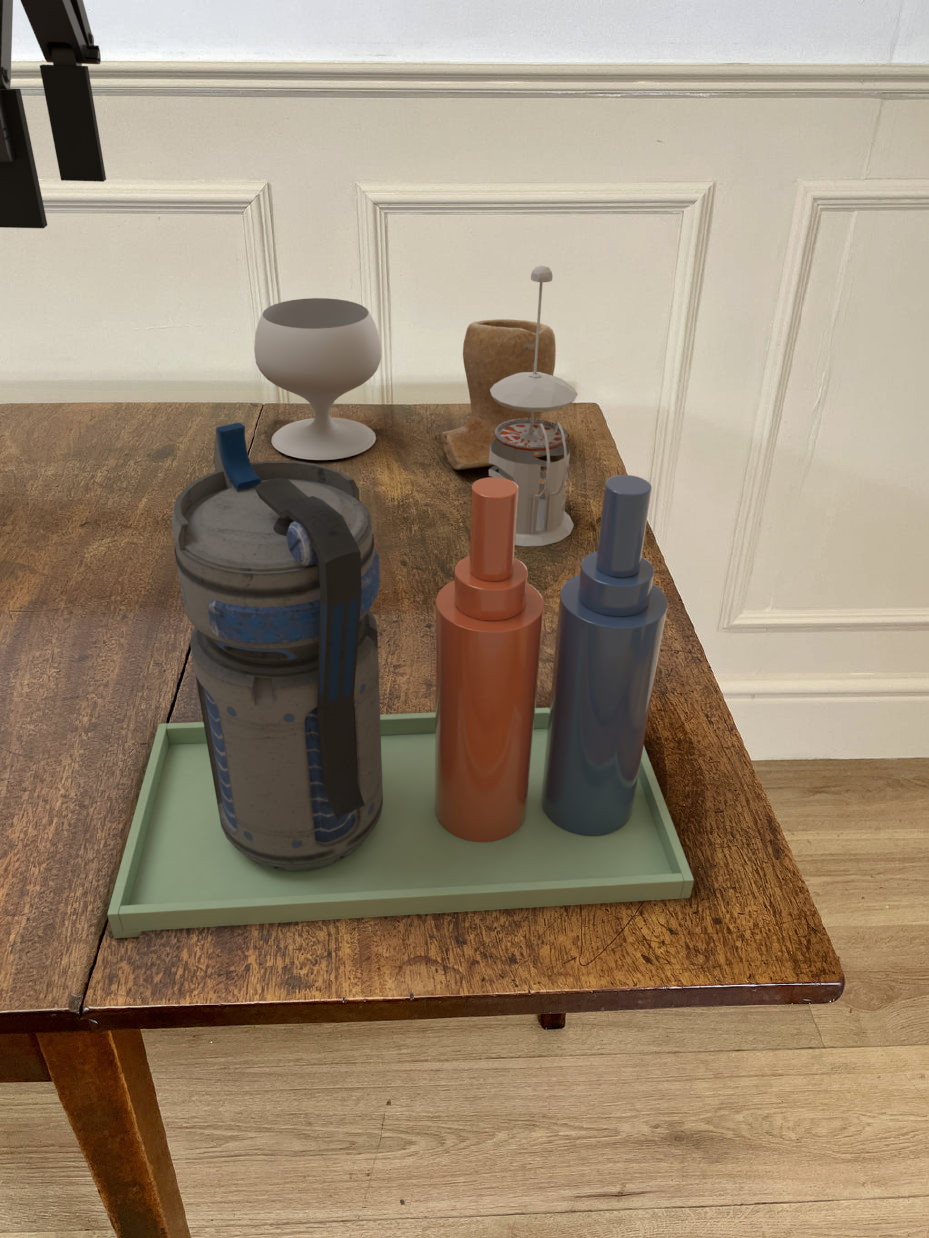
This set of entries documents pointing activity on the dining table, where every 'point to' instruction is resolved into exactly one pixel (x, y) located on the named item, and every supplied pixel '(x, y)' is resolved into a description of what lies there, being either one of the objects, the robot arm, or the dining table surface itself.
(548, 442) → the french press
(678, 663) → the dining table surface
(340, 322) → the chalice
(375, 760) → the beverage bottle
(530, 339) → the brown suede boot
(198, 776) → the tray
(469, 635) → the terracotta bottle
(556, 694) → the slate-blue bottle
